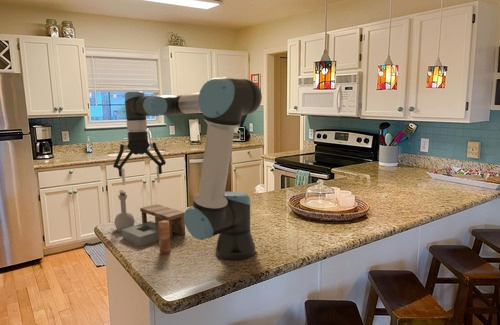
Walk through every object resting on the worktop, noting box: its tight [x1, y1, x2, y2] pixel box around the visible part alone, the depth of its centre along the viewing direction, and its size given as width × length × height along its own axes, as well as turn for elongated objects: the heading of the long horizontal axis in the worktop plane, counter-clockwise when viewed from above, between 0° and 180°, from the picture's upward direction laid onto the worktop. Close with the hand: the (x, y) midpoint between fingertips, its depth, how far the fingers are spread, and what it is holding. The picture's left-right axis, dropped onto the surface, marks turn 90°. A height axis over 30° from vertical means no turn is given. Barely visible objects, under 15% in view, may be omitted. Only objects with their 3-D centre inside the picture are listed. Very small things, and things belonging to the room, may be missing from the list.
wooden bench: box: [139, 203, 186, 241], centre depth 161 cm, size 21×8×10 cm, turn 49°
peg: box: [158, 220, 171, 255], centre depth 139 cm, size 4×4×12 cm
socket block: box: [121, 220, 159, 247], centre depth 155 cm, size 14×14×4 cm
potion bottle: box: [114, 189, 136, 232], centre depth 165 cm, size 9×9×18 cm
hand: (141, 183), depth 149 cm, fingers open, 13 cm apart
